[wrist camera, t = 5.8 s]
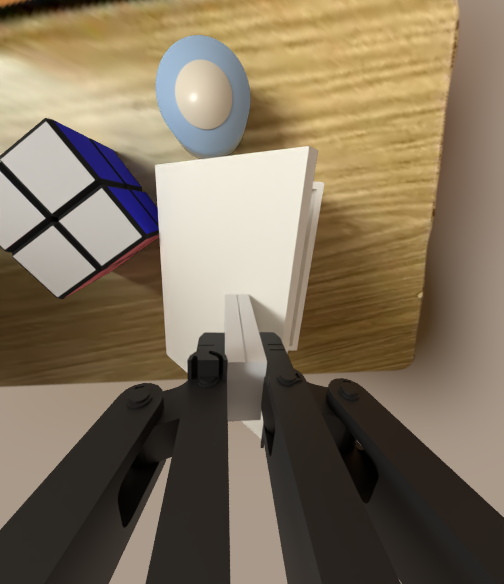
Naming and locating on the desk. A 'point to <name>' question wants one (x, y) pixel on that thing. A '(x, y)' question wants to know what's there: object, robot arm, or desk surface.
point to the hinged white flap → (232, 242)
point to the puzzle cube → (70, 208)
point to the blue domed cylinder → (203, 96)
